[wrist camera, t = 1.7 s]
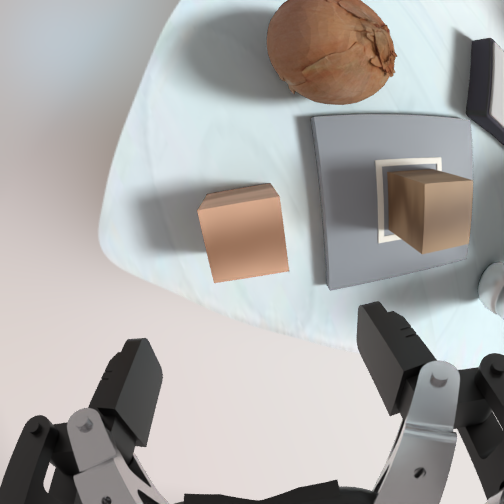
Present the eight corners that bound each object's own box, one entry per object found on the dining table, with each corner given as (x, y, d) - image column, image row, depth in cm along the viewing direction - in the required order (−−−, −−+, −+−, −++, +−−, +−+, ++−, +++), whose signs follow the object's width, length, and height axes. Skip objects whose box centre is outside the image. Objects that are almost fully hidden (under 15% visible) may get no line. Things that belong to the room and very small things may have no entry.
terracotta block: (207, 193, 24) (197, 210, 19) (270, 183, 24) (279, 196, 19) (219, 252, 26) (214, 283, 21) (278, 242, 26) (289, 271, 21)
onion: (345, 68, 23) (434, 67, 15) (291, 127, 23) (388, 138, 15) (289, -6, 17) (377, -39, 9) (218, 45, 17) (302, 0, 9)
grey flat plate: (310, 117, 22) (314, 116, 21) (463, 119, 21) (470, 119, 20) (326, 284, 28) (330, 290, 27) (460, 255, 27) (467, 259, 26)
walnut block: (387, 172, 23) (424, 183, 17) (432, 169, 22) (473, 180, 17) (388, 229, 25) (421, 254, 19) (432, 222, 25) (468, 243, 19)
